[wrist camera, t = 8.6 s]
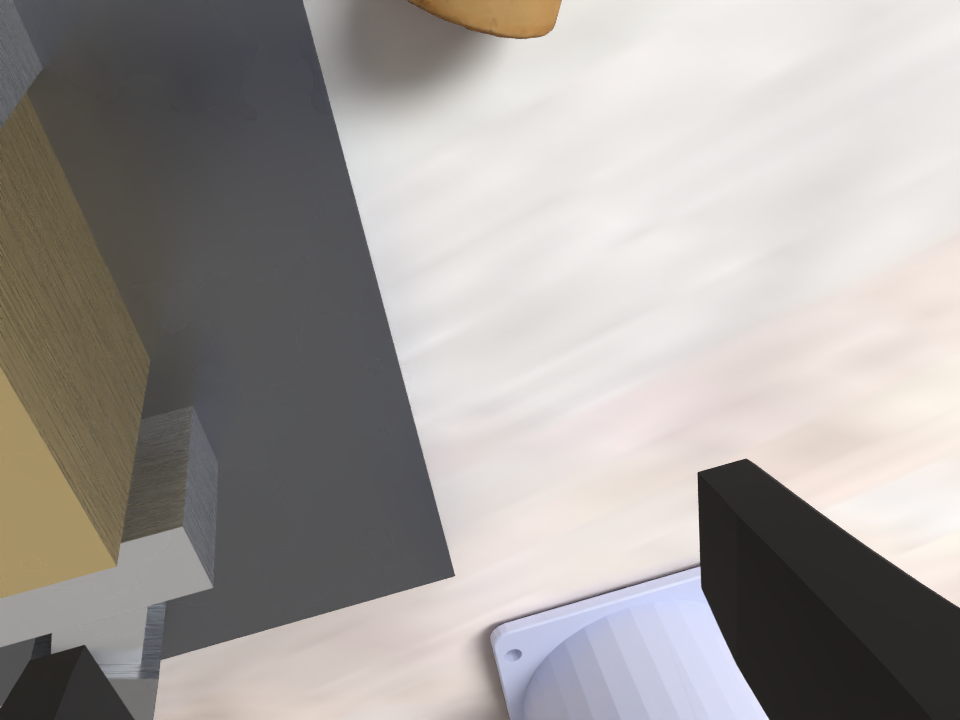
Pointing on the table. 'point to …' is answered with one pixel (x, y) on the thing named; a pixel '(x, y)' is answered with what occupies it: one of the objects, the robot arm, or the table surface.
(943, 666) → the robot arm
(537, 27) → the kendama
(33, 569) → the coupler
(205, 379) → the shaft base
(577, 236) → the table surface
